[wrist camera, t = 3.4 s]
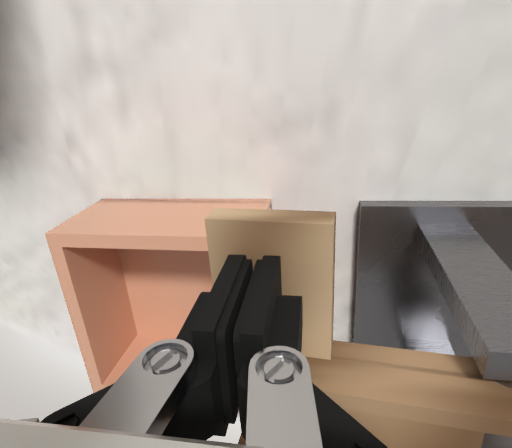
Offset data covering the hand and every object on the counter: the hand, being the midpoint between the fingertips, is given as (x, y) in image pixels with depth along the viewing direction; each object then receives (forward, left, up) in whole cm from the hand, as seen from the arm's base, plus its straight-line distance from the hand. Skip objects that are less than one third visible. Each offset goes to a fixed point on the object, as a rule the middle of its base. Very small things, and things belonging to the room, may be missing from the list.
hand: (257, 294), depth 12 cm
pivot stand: (-8, +5, -9) cm, 13 cm away
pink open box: (+6, +5, -9) cm, 12 cm away
